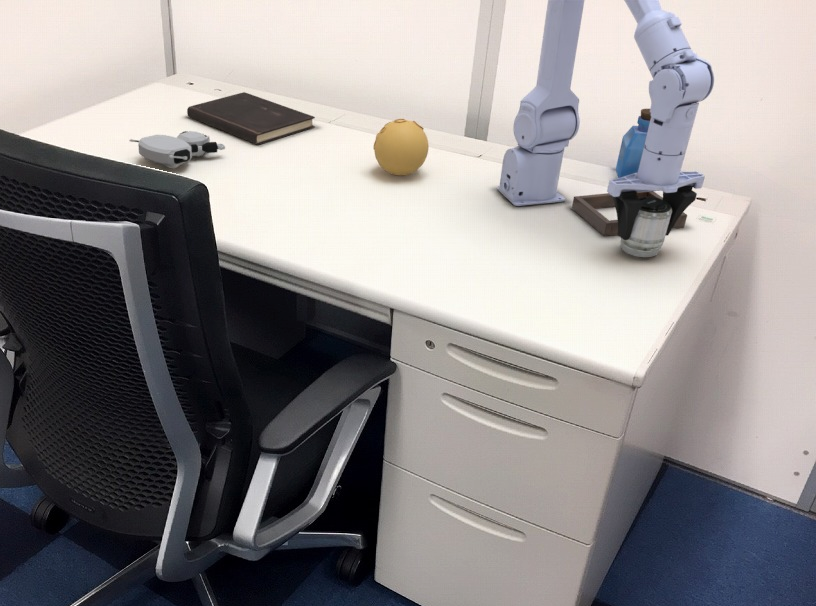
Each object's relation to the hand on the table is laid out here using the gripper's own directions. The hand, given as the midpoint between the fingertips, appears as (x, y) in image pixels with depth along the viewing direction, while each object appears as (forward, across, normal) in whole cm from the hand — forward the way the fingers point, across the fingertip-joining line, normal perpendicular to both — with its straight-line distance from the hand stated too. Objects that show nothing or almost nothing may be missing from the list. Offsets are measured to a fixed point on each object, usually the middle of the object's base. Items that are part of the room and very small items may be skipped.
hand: (642, 235), depth 130 cm
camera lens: (+3, 0, 0) cm, 3 cm away
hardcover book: (+3, -48, +73) cm, 87 cm away
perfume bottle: (+3, +16, +28) cm, 32 cm away
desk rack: (+3, +5, +12) cm, 13 cm away
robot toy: (+3, -65, +55) cm, 85 cm away
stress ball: (+3, -26, +39) cm, 47 cm away
